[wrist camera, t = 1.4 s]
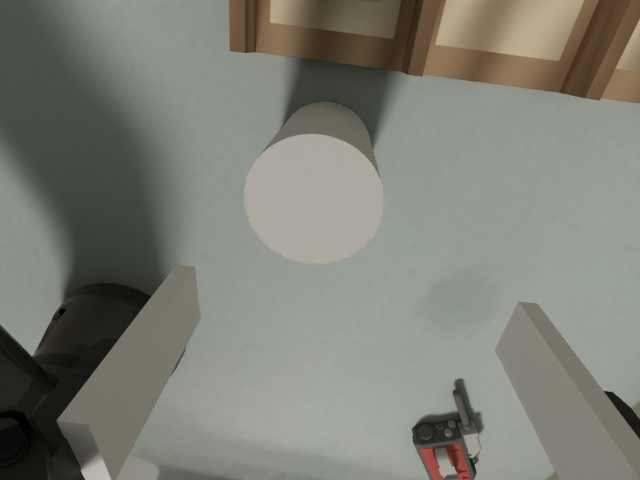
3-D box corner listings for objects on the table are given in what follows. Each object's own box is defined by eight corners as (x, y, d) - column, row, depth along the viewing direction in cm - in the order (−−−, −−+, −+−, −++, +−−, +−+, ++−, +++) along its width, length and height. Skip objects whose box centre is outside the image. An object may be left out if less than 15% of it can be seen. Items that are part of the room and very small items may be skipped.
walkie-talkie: (486, 462, 53) (461, 380, 44) (497, 495, 49) (472, 412, 40) (429, 470, 55) (395, 393, 46) (435, 502, 51) (399, 424, 42)
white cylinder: (260, 152, 31) (216, 207, 20) (321, 78, 27) (306, 99, 17) (327, 209, 33) (318, 285, 23) (390, 148, 30) (414, 203, 19)
